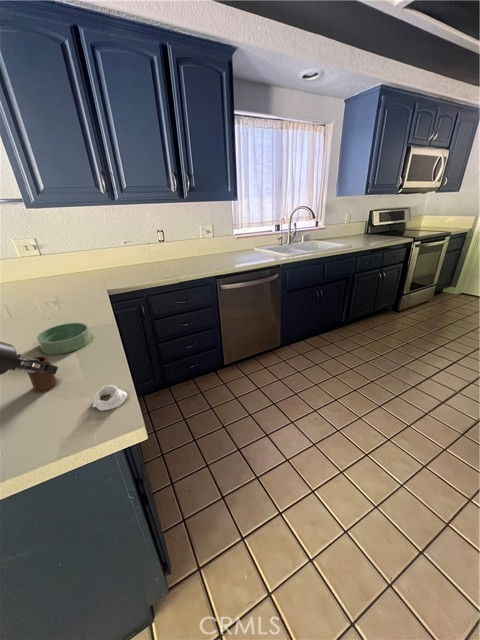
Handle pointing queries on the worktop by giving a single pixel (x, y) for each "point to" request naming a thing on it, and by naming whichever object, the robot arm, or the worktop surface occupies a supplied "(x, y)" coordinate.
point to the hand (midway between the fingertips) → (46, 368)
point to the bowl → (64, 338)
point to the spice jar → (42, 377)
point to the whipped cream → (113, 401)
